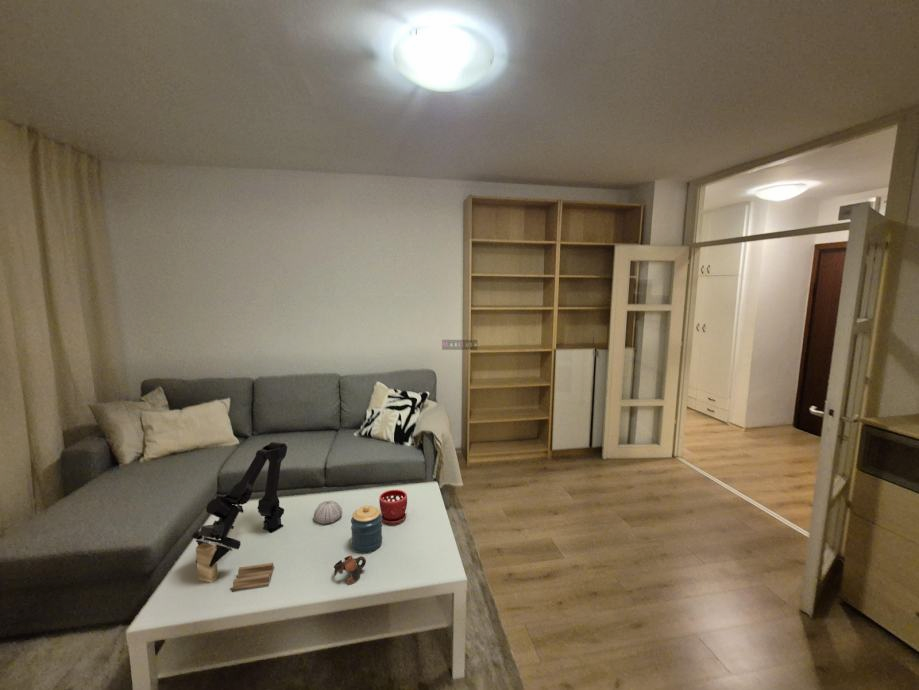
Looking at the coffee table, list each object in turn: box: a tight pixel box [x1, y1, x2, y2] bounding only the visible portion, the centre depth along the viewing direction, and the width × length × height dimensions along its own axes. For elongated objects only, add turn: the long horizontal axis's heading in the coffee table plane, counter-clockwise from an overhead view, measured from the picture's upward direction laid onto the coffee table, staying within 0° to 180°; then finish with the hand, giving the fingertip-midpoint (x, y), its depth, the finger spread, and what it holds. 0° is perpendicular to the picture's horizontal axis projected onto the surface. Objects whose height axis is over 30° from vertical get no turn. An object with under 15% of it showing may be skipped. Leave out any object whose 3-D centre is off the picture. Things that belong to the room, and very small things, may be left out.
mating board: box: [232, 562, 275, 593], centre depth 149 cm, size 10×12×3 cm
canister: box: [350, 504, 383, 554], centre depth 170 cm, size 13×13×18 cm
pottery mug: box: [333, 555, 367, 585], centre depth 152 cm, size 12×10×8 cm
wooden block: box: [195, 543, 219, 584], centre depth 148 cm, size 3×6×13 cm, turn 74°
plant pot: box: [378, 489, 408, 525], centre depth 189 cm, size 13×13×12 cm
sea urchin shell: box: [312, 500, 343, 524], centre depth 190 cm, size 13×14×8 cm
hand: (203, 564), depth 147 cm, fingers closed on wooden block, 6 cm apart
